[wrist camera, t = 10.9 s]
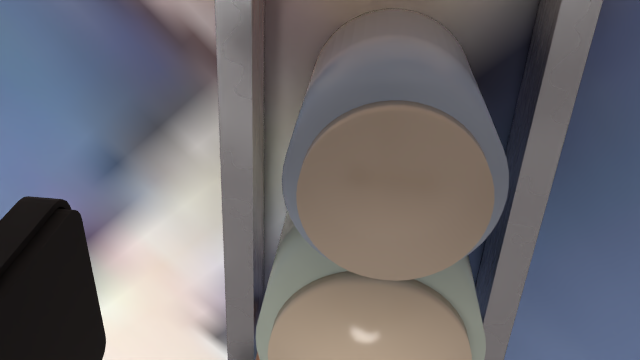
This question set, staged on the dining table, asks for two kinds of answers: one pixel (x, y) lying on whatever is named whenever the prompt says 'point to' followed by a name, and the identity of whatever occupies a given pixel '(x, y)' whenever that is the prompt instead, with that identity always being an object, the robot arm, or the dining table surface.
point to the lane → (522, 154)
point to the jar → (394, 151)
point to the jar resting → (364, 311)
